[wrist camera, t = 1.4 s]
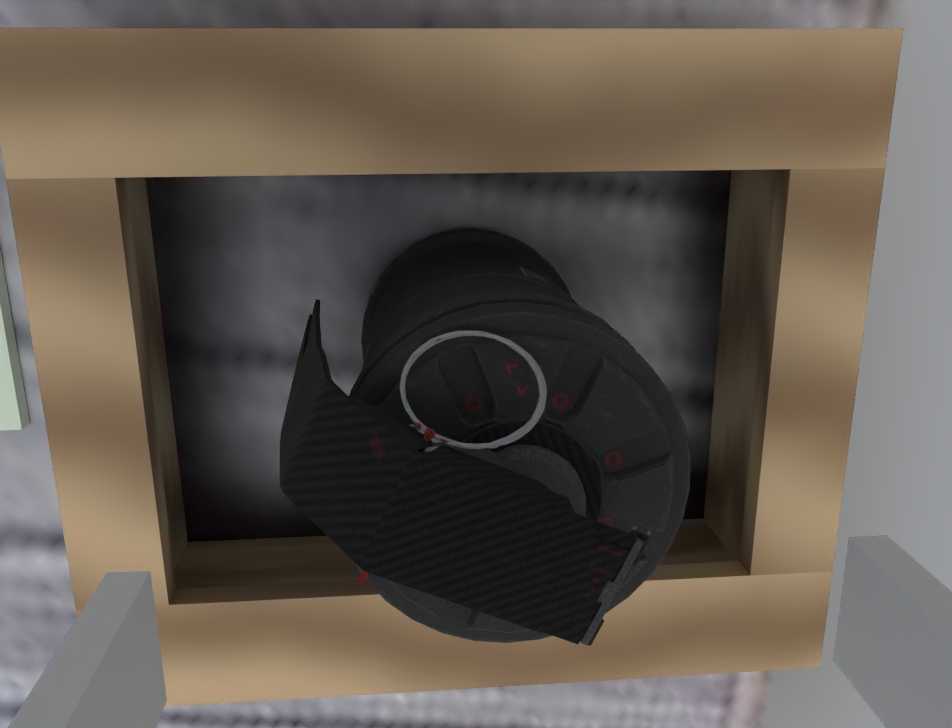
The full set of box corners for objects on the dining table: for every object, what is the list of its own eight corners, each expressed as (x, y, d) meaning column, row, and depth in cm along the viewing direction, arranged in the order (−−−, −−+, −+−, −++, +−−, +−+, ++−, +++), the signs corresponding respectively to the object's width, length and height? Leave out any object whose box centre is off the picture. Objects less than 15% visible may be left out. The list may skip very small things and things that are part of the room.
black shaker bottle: (518, 457, 39) (630, 795, 20) (288, 367, 37) (169, 650, 18) (608, 274, 37) (829, 458, 18) (370, 168, 35) (333, 247, 16)
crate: (103, 49, 33) (-19, 28, 23) (765, 48, 35) (903, 28, 25) (167, 562, 39) (92, 710, 30) (722, 536, 41) (819, 667, 32)
